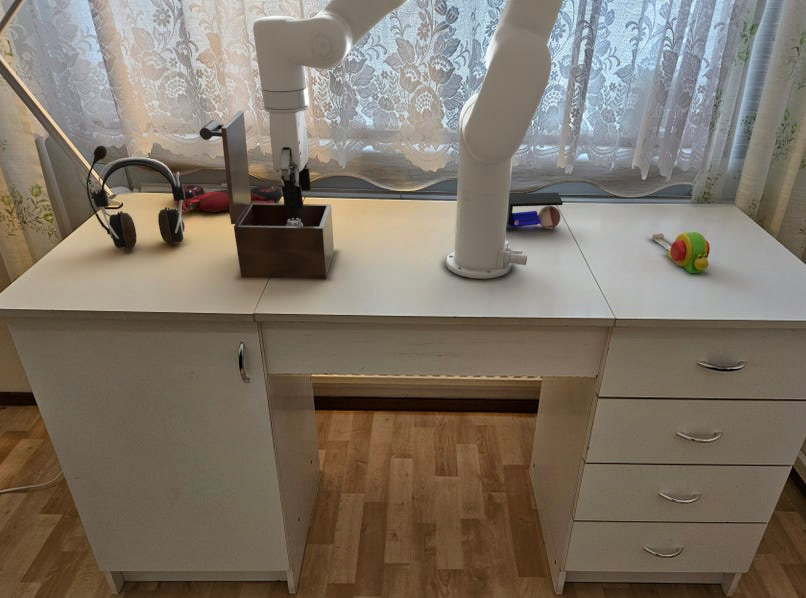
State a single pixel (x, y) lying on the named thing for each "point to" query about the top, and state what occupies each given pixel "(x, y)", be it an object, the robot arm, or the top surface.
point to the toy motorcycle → (224, 197)
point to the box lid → (233, 161)
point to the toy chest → (284, 241)
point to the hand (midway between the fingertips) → (298, 198)
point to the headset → (122, 222)
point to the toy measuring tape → (687, 250)
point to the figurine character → (546, 216)
